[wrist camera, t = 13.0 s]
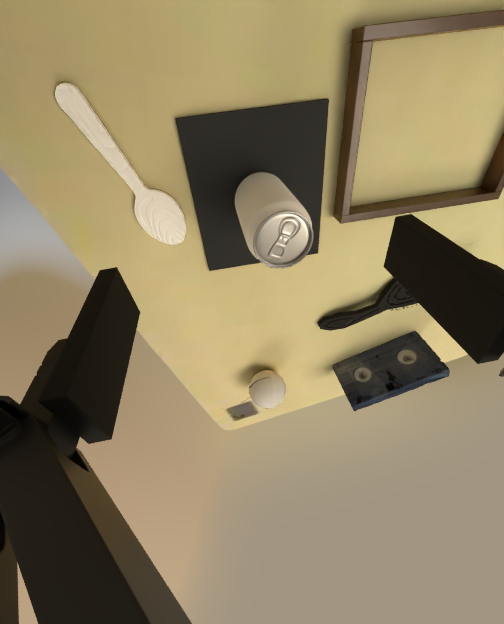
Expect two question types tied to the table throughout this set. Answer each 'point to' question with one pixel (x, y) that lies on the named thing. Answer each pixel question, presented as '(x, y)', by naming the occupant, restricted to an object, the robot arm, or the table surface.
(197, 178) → the mat
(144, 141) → the table surface
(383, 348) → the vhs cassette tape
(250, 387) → the seamed sphere
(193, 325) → the table surface
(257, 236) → the can
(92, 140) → the spoon
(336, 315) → the hairbrush
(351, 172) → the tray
